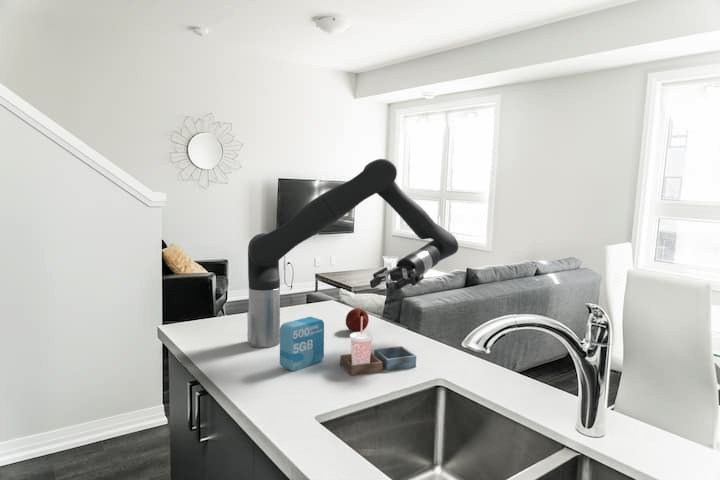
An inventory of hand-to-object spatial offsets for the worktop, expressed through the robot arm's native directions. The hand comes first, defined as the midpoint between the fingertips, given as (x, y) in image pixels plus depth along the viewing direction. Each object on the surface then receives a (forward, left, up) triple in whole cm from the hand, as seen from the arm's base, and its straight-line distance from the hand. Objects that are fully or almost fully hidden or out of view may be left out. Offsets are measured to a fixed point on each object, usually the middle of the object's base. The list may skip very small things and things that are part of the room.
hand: (383, 286), depth 135 cm
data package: (-22, +3, -21) cm, 31 cm away
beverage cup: (-8, -4, -21) cm, 23 cm away
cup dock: (-3, -4, -21) cm, 21 cm away
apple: (+3, +26, -21) cm, 34 cm away
